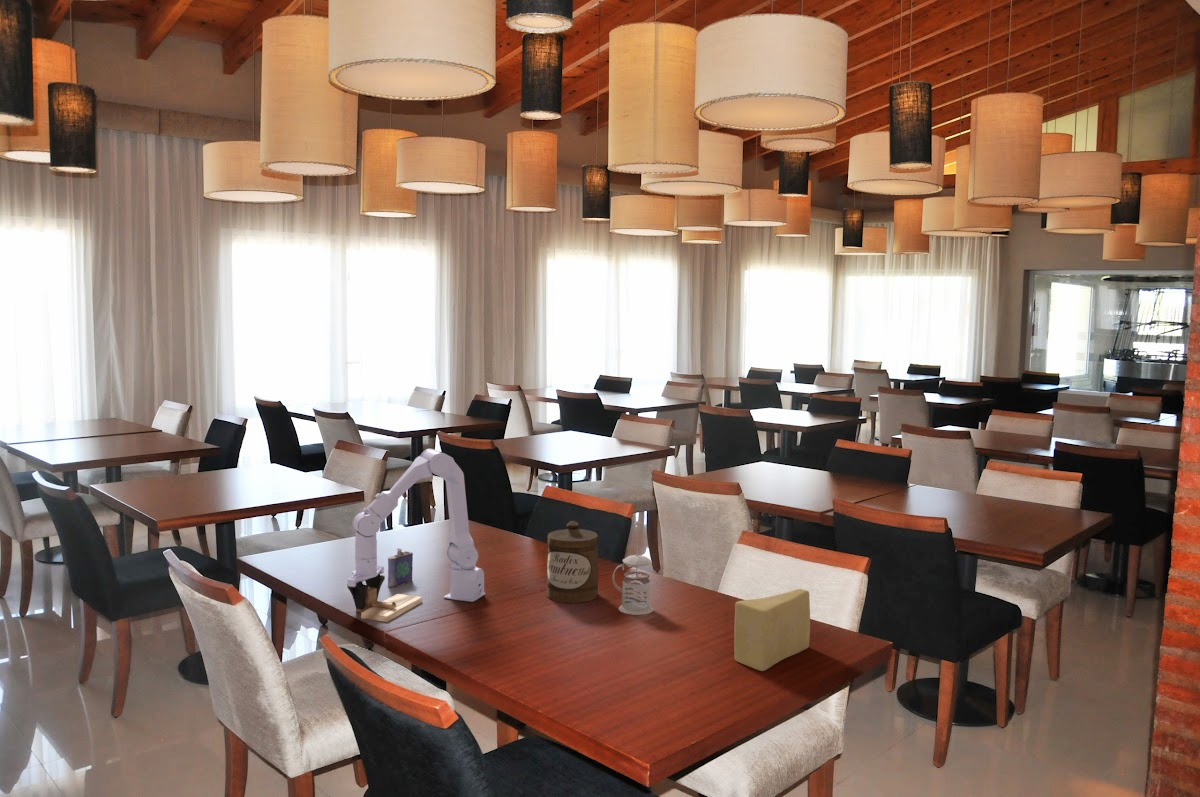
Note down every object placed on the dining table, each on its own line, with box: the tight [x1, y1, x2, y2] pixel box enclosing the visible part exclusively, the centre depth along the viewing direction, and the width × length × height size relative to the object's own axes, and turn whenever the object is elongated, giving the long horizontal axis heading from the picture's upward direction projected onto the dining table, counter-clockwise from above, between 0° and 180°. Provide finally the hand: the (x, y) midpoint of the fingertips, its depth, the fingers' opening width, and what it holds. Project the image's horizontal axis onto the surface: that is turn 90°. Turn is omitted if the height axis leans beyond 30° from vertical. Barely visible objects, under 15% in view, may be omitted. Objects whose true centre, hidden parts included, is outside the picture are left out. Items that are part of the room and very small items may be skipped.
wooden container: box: [546, 520, 599, 604], centre depth 269 cm, size 15×15×22 cm
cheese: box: [733, 588, 811, 672], centre depth 224 cm, size 22×10×15 cm, turn 129°
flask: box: [387, 548, 414, 589], centre depth 278 cm, size 9×3×11 cm, turn 146°
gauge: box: [355, 586, 396, 614], centre depth 252 cm, size 11×4×7 cm, turn 71°
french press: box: [612, 520, 654, 616], centre depth 258 cm, size 10×12×25 cm
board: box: [360, 593, 423, 623], centre depth 254 cm, size 8×18×2 cm, turn 161°
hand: (366, 605), depth 254 cm, fingers open, 6 cm apart
